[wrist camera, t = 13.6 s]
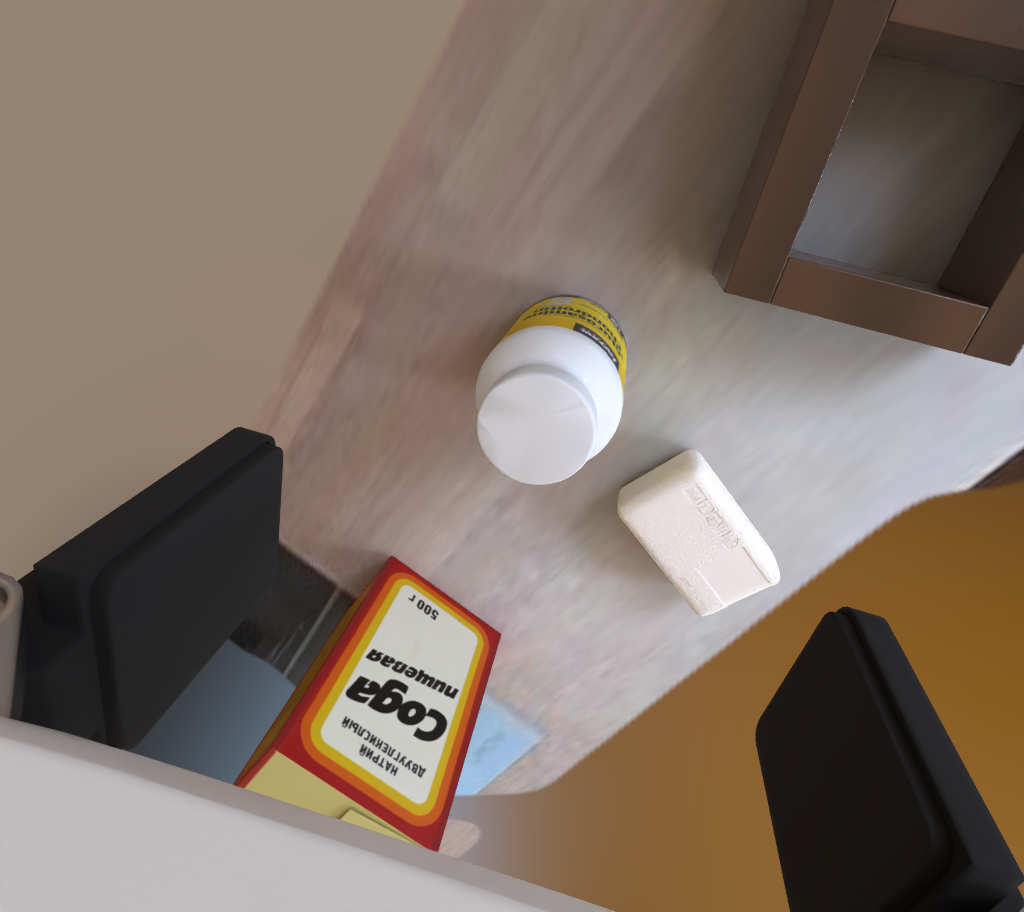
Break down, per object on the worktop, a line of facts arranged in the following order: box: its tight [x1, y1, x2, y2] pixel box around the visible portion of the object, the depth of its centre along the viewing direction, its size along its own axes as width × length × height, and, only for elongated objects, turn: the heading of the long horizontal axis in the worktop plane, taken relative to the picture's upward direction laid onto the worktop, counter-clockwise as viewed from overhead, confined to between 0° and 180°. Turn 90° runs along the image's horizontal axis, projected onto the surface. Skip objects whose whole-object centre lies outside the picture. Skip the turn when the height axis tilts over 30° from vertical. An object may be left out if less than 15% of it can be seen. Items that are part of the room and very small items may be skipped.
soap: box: [617, 449, 780, 616], centre depth 35 cm, size 9×6×3 cm, turn 39°
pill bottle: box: [475, 295, 627, 485], centre depth 29 cm, size 6×6×12 cm
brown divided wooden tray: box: [712, 0, 1024, 366], centre depth 23 cm, size 12×22×5 cm, turn 168°
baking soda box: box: [233, 556, 501, 852], centre depth 37 cm, size 10×6×16 cm
